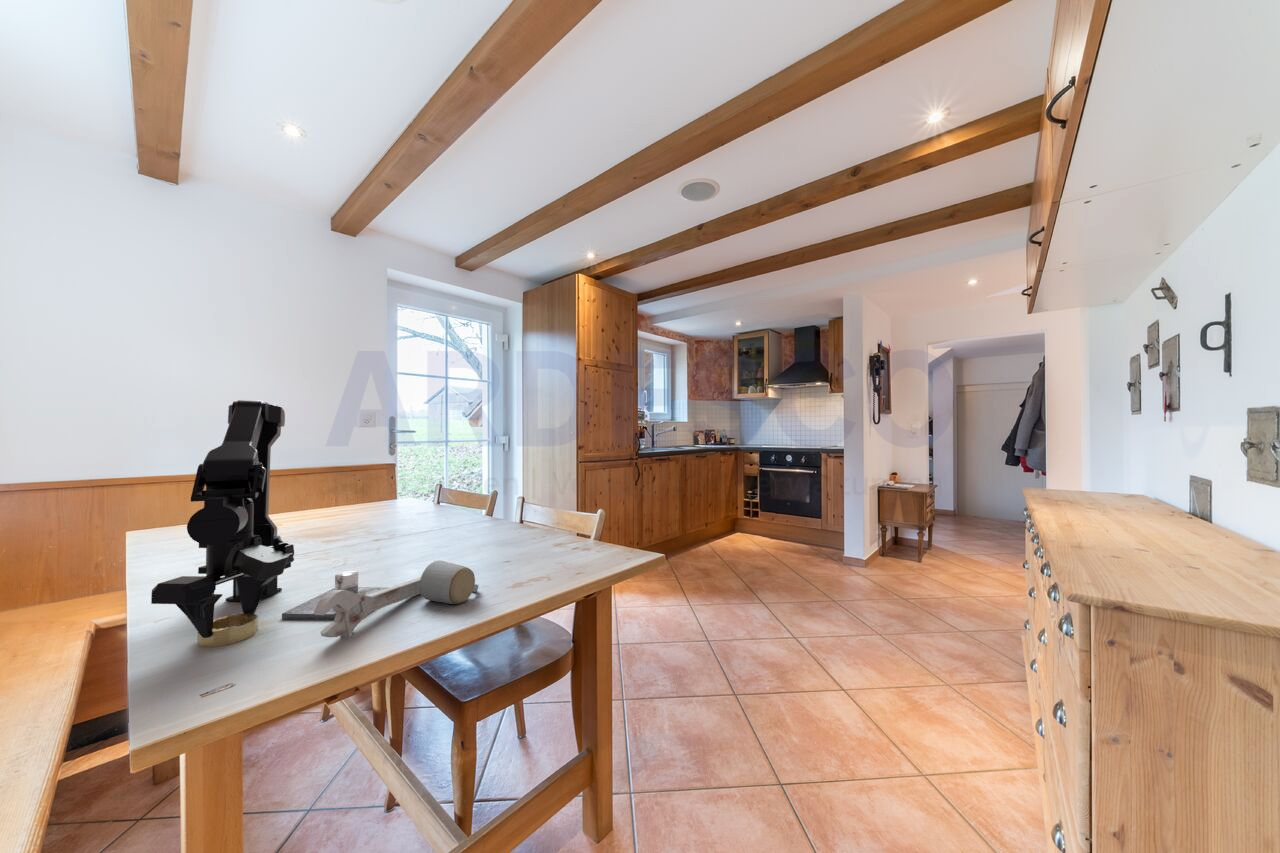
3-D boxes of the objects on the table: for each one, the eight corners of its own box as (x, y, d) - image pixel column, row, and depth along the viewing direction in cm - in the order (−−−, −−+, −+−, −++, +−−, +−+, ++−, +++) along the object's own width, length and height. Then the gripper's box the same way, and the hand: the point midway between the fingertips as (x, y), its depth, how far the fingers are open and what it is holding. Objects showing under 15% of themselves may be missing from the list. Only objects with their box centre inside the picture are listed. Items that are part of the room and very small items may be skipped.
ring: (185, 646, 70) (186, 631, 70) (228, 627, 77) (228, 613, 77) (229, 646, 70) (229, 631, 70) (267, 627, 77) (268, 613, 77)
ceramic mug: (451, 611, 84) (452, 569, 84) (417, 605, 87) (418, 565, 87) (488, 593, 94) (489, 556, 94) (457, 588, 97) (458, 552, 97)
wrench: (434, 601, 97) (320, 650, 68) (426, 600, 97) (309, 650, 68) (437, 563, 98) (325, 595, 69) (429, 562, 98) (315, 595, 69)
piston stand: (281, 619, 80) (282, 585, 80) (336, 591, 94) (336, 563, 94) (358, 619, 80) (358, 586, 80) (401, 592, 94) (402, 563, 94)
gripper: (223, 546, 64) (222, 656, 64) (320, 521, 83) (319, 606, 82) (148, 546, 64) (146, 655, 64) (261, 521, 83) (260, 605, 83)
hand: (228, 627), depth 73 cm, fingers closed on ring, 7 cm apart
